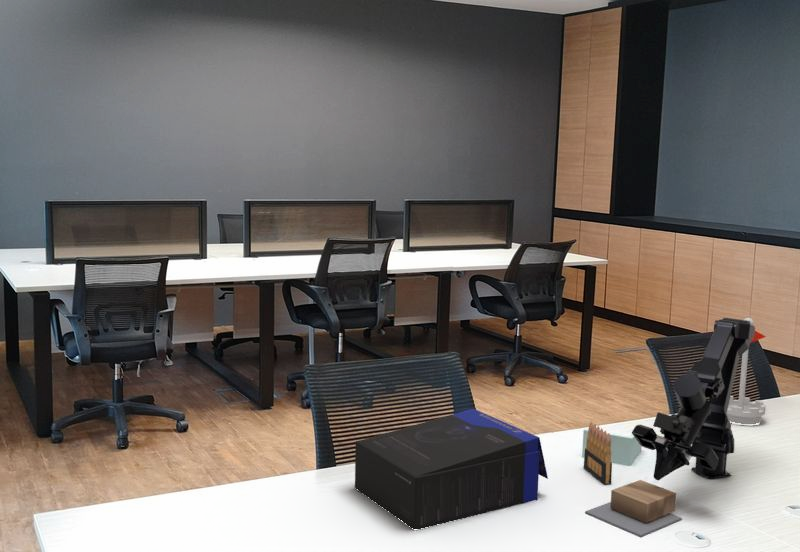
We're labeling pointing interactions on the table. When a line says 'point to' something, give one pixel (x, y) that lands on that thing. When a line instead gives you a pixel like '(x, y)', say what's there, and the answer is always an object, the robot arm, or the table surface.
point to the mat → (631, 520)
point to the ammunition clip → (598, 454)
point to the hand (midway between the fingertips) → (655, 478)
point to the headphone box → (449, 468)
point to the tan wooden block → (643, 501)
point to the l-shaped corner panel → (619, 448)
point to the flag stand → (743, 407)
